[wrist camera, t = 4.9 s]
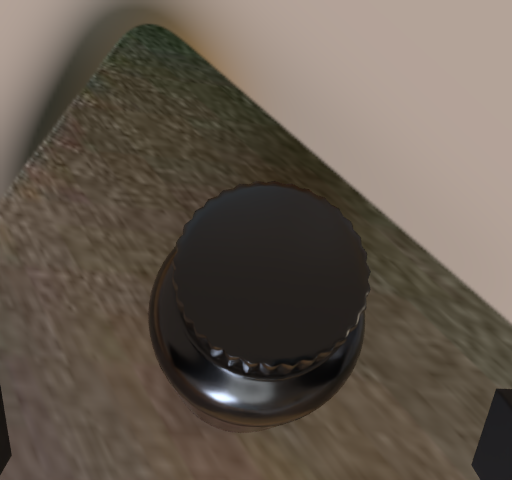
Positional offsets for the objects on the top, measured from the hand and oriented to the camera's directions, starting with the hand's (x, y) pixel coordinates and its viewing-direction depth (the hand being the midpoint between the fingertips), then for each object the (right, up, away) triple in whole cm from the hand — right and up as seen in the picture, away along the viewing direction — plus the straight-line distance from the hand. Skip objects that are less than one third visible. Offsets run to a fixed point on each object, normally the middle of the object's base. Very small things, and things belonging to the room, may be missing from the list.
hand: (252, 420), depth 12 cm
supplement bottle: (-1, -1, +10) cm, 10 cm away
